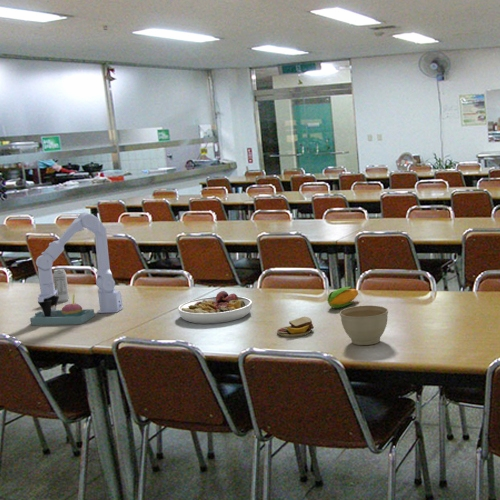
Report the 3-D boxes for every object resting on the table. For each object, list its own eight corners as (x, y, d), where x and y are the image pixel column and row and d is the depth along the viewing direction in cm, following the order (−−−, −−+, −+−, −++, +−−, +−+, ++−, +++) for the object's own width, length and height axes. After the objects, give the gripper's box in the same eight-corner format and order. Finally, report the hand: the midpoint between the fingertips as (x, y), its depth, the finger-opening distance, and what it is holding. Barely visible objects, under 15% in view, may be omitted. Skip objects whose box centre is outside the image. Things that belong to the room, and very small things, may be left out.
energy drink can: (70, 299, 373) (67, 268, 370) (66, 302, 367) (63, 271, 364) (58, 300, 373) (55, 269, 371) (54, 302, 367) (50, 271, 365)
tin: (57, 319, 334) (55, 304, 333) (52, 322, 329) (51, 307, 328) (47, 319, 334) (46, 305, 333) (43, 322, 330) (41, 307, 329)
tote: (94, 315, 334) (93, 307, 334) (82, 323, 322) (81, 315, 321) (45, 317, 339) (44, 308, 339) (30, 325, 327) (29, 316, 326)
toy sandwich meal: (273, 331, 289) (273, 318, 288) (309, 326, 291) (308, 314, 290) (281, 340, 277) (280, 327, 276) (318, 335, 279) (317, 322, 278)
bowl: (244, 325, 301) (242, 305, 300) (169, 327, 307) (168, 307, 306) (258, 306, 330) (257, 288, 329) (190, 308, 336) (189, 290, 335)
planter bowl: (384, 333, 274) (382, 303, 272) (394, 346, 258) (392, 314, 256) (338, 337, 273) (336, 307, 272) (345, 350, 257) (343, 318, 256)
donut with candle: (86, 317, 333) (83, 290, 331) (77, 322, 324) (74, 294, 323) (68, 317, 335) (65, 290, 333) (58, 323, 327) (55, 295, 325)
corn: (322, 291, 313) (348, 281, 328) (322, 309, 314) (348, 298, 330) (337, 294, 308) (364, 283, 323) (337, 312, 310) (364, 301, 325)
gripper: (45, 280, 337) (49, 310, 339) (29, 287, 323) (33, 319, 325) (60, 279, 336) (64, 310, 338) (45, 287, 322) (49, 319, 324)
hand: (50, 314), depth 331 cm, fingers closed on tin, 4 cm apart
